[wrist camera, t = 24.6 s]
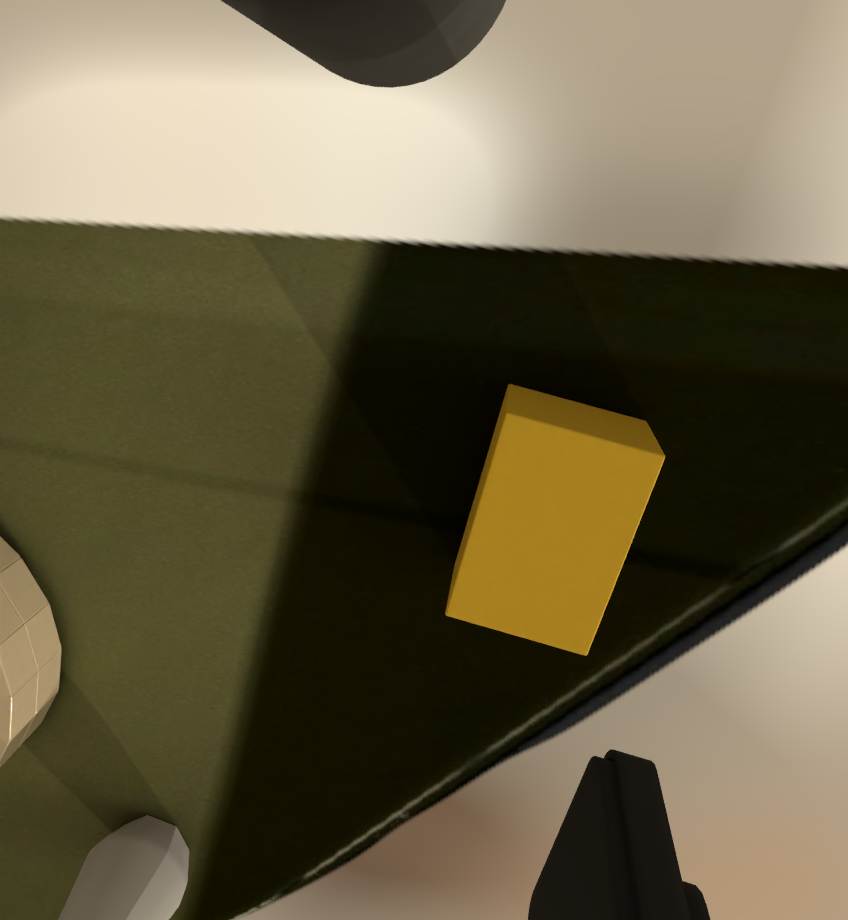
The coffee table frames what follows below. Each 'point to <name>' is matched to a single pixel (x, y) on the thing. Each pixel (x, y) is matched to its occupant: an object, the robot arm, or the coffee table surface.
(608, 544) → the sponge
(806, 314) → the coffee table surface
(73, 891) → the salt shaker
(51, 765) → the coffee table surface
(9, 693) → the bowl
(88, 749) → the coffee table surface
